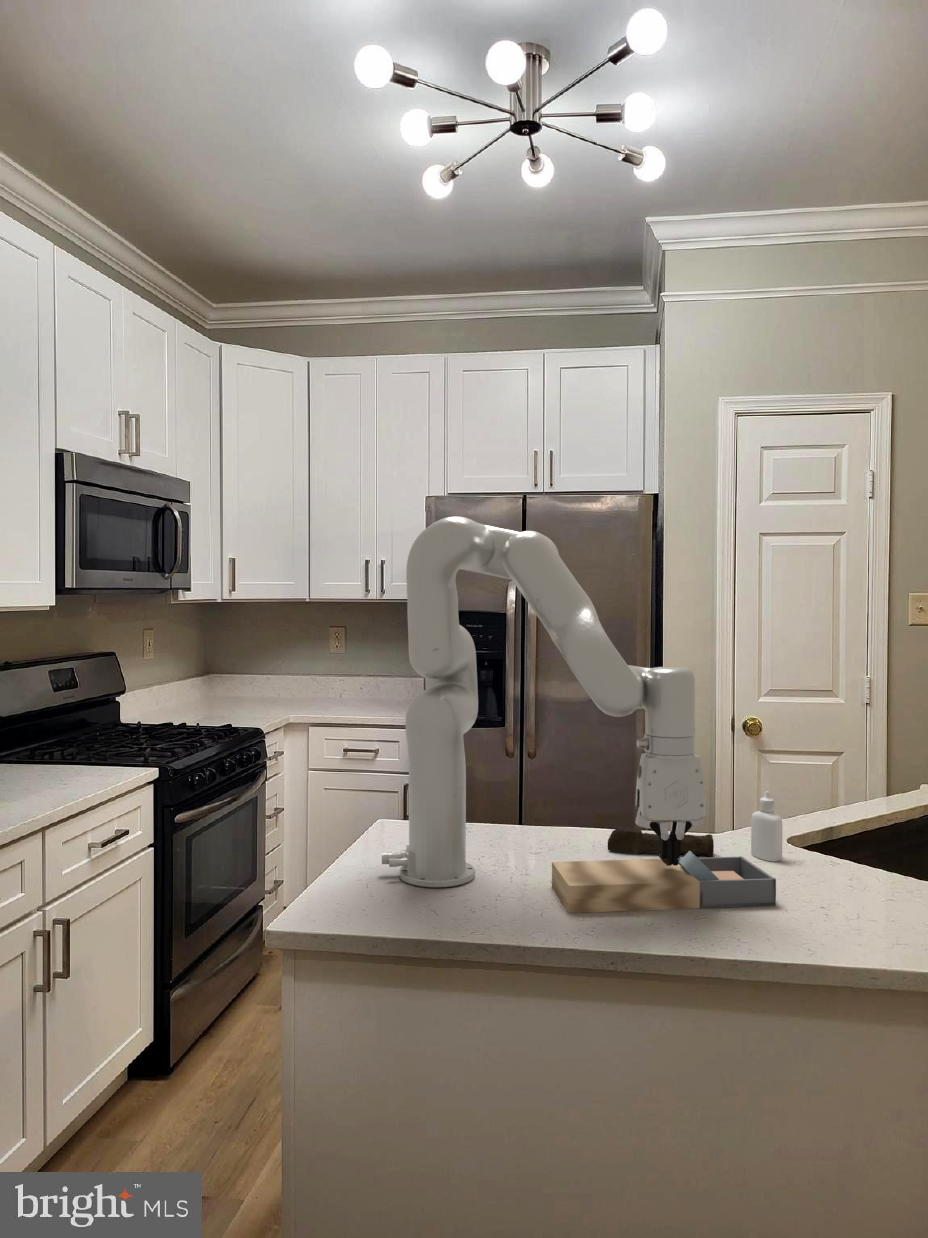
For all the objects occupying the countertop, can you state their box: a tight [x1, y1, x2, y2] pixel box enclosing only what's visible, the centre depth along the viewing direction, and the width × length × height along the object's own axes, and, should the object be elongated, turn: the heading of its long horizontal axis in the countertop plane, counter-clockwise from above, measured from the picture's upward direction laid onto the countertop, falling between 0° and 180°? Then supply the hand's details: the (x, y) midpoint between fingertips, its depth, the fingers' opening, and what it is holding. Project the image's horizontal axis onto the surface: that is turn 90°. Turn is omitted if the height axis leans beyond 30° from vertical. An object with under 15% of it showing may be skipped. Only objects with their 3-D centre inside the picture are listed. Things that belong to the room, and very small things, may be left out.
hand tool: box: [607, 827, 715, 857], centre depth 159 cm, size 19×4×5 cm, turn 81°
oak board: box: [551, 858, 701, 914], centre depth 135 cm, size 20×12×4 cm, turn 96°
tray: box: [678, 856, 777, 909], centre depth 136 cm, size 12×12×4 cm
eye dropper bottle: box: [750, 791, 783, 863], centre depth 156 cm, size 4×6×12 cm
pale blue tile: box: [679, 851, 719, 881], centre depth 135 cm, size 4×4×2 cm
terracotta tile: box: [711, 871, 743, 880], centre depth 136 cm, size 4×4×2 cm
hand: (669, 863), depth 135 cm, fingers closed
